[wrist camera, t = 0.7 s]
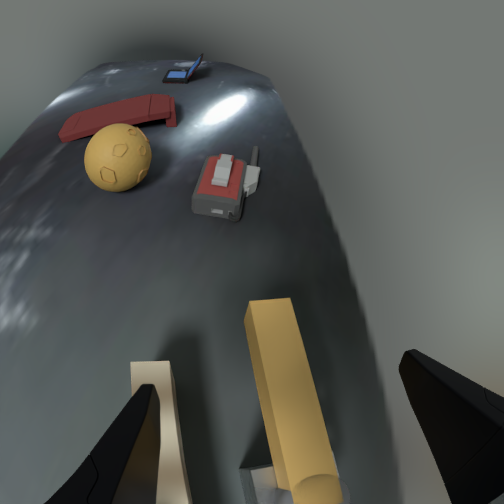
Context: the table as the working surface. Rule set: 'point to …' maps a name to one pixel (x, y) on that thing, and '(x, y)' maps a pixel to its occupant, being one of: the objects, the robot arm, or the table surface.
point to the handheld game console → (181, 73)
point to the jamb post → (261, 483)
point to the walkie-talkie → (225, 185)
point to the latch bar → (291, 407)
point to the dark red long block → (119, 115)
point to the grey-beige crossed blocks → (166, 432)
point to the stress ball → (118, 157)
